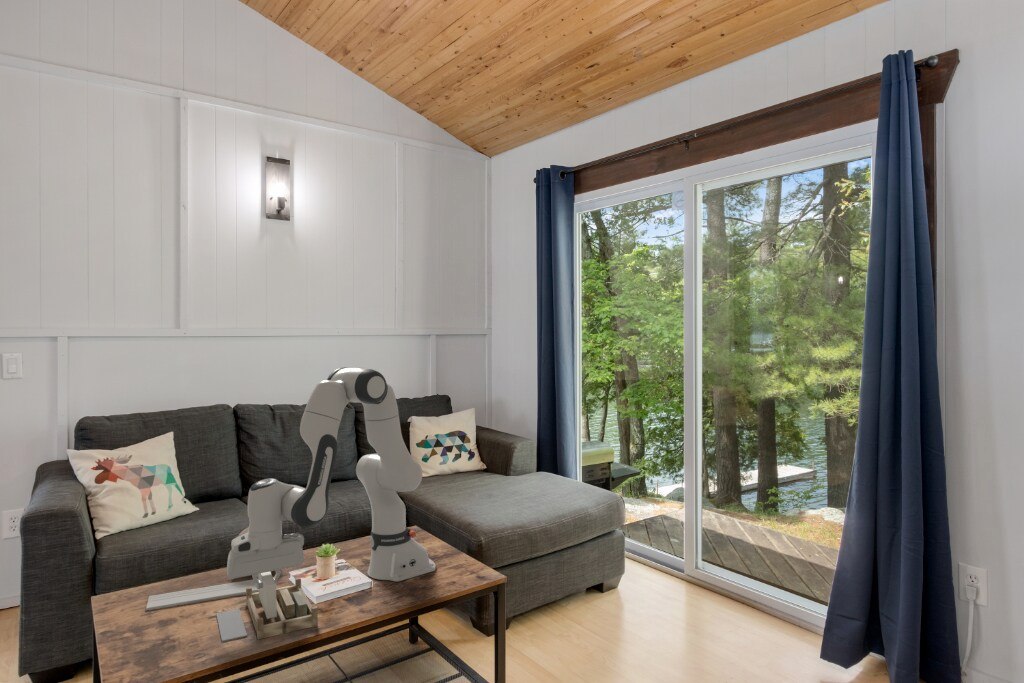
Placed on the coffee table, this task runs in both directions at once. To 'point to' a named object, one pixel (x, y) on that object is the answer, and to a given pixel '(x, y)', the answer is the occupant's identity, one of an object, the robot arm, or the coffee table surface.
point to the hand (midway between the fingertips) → (266, 586)
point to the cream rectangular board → (268, 594)
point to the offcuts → (292, 603)
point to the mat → (231, 625)
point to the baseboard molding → (200, 594)
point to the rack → (281, 614)
